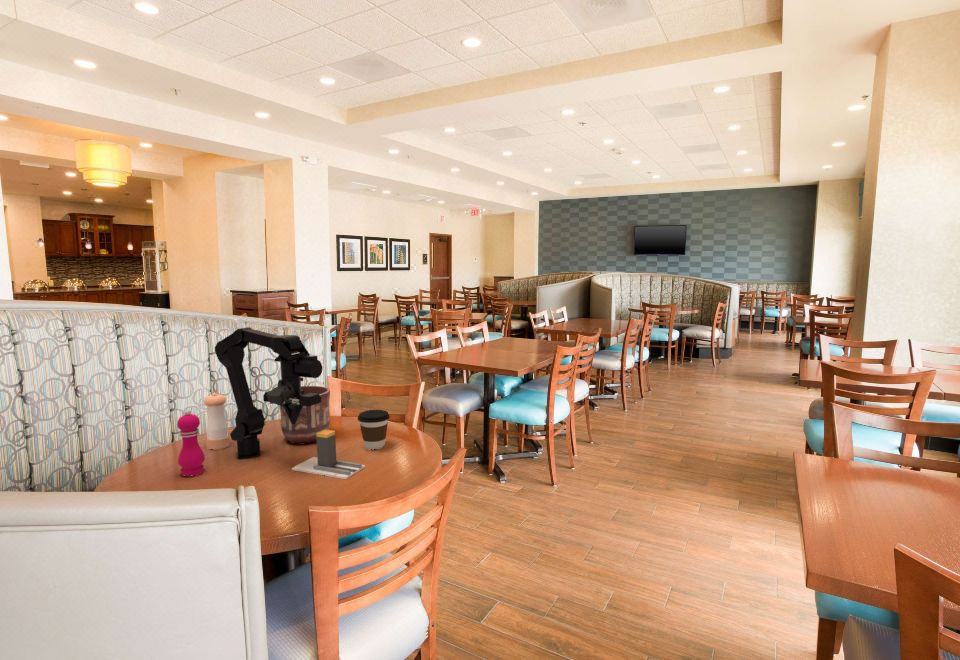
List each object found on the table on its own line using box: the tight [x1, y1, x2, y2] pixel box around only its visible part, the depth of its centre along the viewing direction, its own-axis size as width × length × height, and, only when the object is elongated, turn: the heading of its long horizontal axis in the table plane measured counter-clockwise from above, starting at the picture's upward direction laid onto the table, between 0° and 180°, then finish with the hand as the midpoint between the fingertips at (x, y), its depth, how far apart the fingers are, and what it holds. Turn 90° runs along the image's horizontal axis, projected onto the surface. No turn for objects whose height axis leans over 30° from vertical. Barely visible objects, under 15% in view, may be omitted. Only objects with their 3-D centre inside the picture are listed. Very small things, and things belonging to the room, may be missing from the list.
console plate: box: [291, 456, 366, 480], centre depth 164 cm, size 20×10×2 cm, turn 68°
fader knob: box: [316, 429, 337, 468], centre depth 163 cm, size 4×4×11 cm
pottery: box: [279, 385, 331, 445], centre depth 191 cm, size 18×18×18 cm
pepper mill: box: [176, 409, 206, 476], centre depth 160 cm, size 7×7×20 cm
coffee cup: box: [357, 409, 391, 451], centre depth 182 cm, size 11×11×12 cm
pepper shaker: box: [203, 392, 231, 451], centre depth 184 cm, size 7×7×19 cm
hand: (293, 423), depth 167 cm, fingers closed
